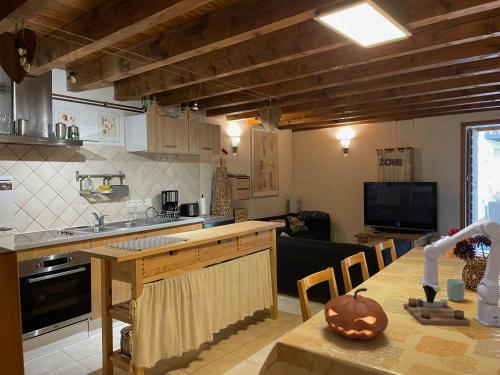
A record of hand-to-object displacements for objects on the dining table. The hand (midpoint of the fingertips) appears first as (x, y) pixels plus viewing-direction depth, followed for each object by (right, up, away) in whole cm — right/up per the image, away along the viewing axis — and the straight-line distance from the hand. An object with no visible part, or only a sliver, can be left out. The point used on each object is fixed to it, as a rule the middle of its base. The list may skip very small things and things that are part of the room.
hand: (430, 302), depth 163 cm
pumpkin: (-39, -7, -18) cm, 43 cm away
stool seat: (+2, -6, 0) cm, 6 cm away
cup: (+23, -6, +21) cm, 32 cm away
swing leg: (+5, -4, +7) cm, 9 cm away
